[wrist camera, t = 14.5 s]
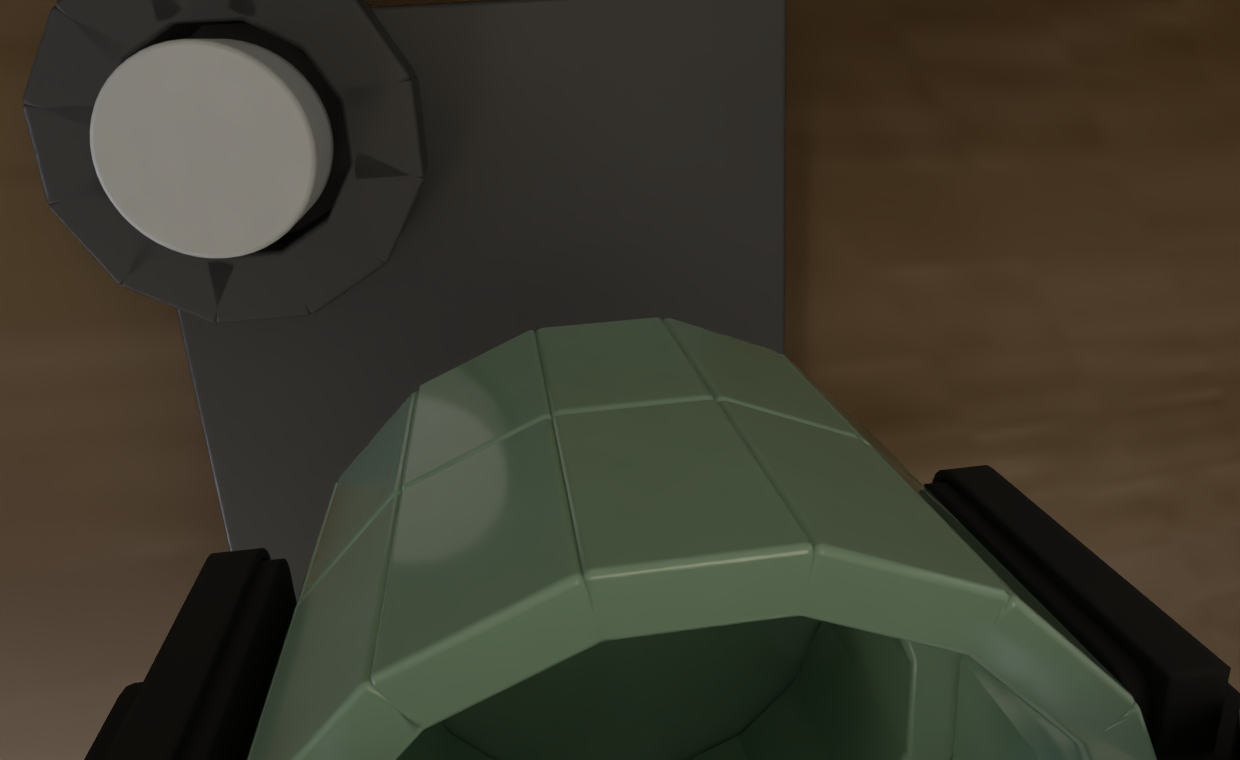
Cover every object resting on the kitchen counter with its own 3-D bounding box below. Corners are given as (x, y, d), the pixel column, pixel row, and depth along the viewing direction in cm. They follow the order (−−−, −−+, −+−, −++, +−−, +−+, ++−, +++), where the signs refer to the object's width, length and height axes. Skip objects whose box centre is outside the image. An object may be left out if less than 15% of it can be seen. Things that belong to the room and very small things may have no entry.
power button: (157, 241, 16) (116, 268, 15) (112, 44, 15) (62, 45, 13) (347, 226, 17) (332, 250, 15) (318, 32, 16) (297, 32, 14)
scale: (207, 593, 22) (167, 675, 19) (59, -38, 17) (-22, -54, 14) (769, 524, 23) (810, 591, 20) (768, -71, 19) (821, -90, 16)
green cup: (364, 841, 13) (288, 1389, 8) (268, 337, 10) (60, 638, 5) (872, 766, 13) (1115, 1215, 8) (893, 280, 11) (1255, 491, 6)
